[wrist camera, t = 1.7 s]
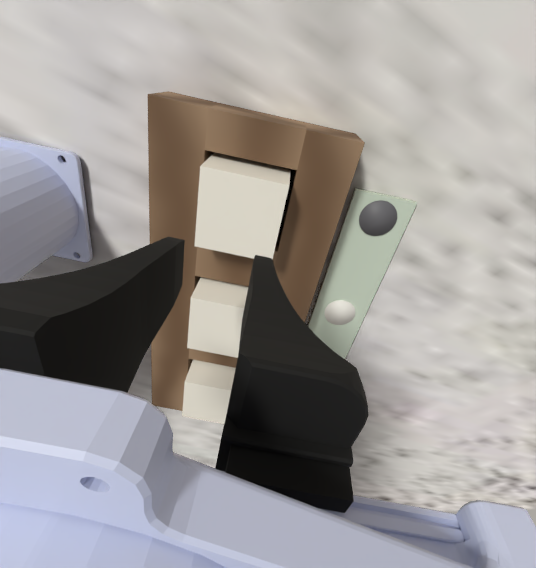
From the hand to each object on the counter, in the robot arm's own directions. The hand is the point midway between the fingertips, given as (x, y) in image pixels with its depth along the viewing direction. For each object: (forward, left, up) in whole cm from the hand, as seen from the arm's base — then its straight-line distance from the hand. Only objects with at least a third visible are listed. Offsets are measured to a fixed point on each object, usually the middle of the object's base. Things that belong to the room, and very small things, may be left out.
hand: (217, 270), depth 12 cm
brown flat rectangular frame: (0, -8, -10) cm, 13 cm away
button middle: (0, -8, -9) cm, 12 cm away
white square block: (0, 0, -9) cm, 9 cm away
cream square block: (0, -16, -9) cm, 18 cm away
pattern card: (+8, -8, -10) cm, 16 cm away
